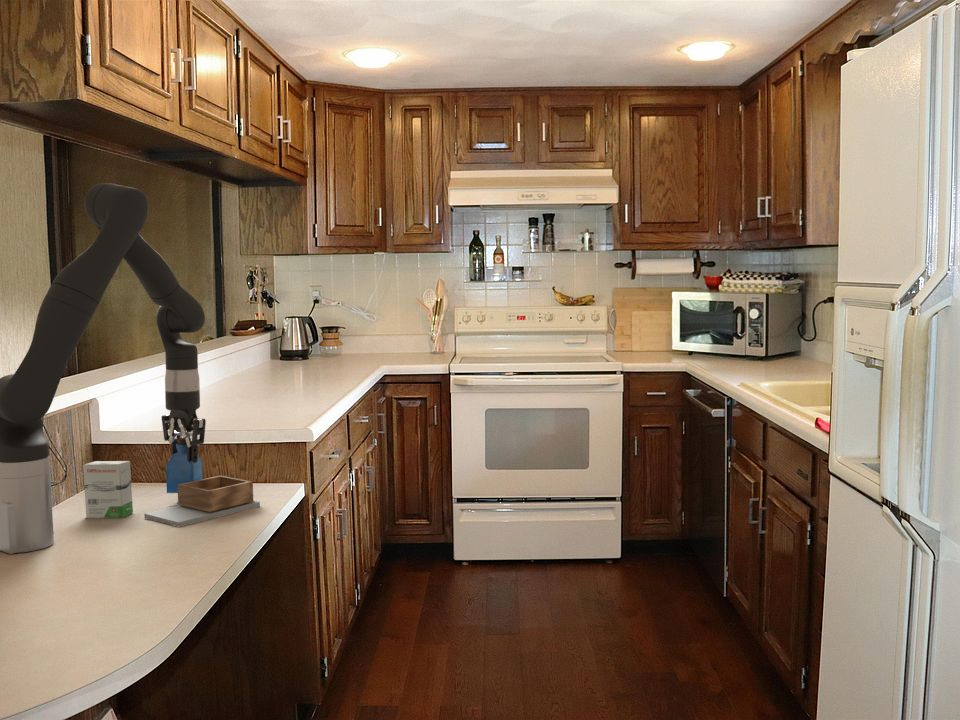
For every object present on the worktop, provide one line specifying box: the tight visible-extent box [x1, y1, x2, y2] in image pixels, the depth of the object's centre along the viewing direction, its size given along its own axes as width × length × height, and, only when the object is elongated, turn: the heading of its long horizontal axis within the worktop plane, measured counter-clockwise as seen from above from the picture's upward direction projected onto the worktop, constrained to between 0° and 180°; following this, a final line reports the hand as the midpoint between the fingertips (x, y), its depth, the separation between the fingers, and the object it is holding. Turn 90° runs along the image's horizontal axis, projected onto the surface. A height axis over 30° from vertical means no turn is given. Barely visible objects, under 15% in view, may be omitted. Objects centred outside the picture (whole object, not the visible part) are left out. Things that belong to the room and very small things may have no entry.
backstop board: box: [144, 482, 261, 527], centre depth 192 cm, size 21×12×5 cm, turn 143°
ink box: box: [82, 460, 134, 519], centre depth 190 cm, size 9×5×12 cm, turn 84°
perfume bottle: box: [165, 437, 204, 494], centre depth 200 cm, size 6×6×12 cm
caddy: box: [177, 475, 254, 512], centre depth 194 cm, size 12×12×4 cm
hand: (184, 460), depth 200 cm, fingers closed on perfume bottle, 5 cm apart
